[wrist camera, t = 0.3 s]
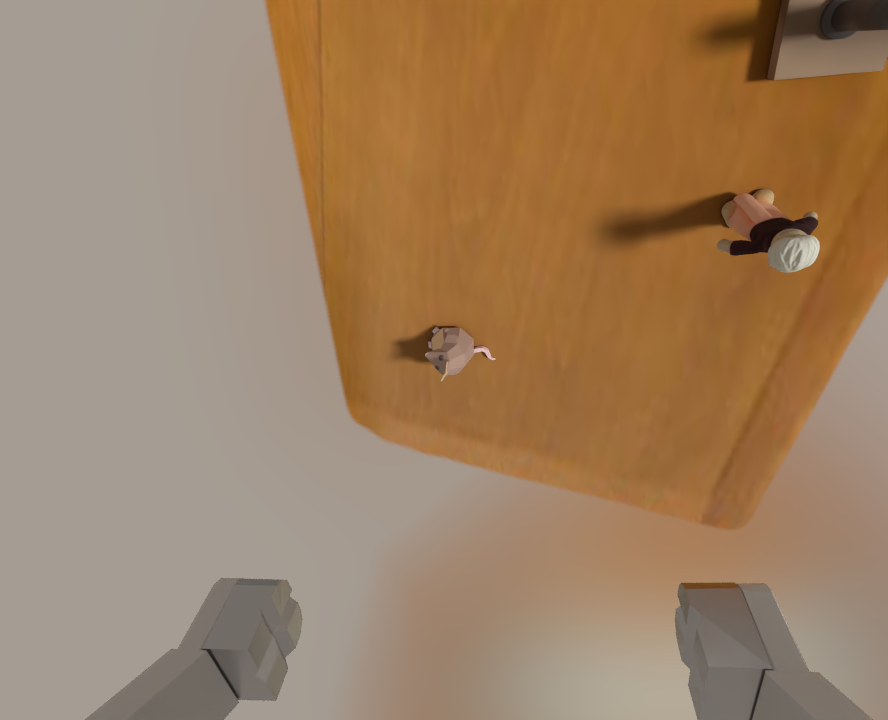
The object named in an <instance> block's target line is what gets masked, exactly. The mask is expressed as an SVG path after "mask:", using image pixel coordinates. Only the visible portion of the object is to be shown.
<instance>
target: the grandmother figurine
mask: <svg viewBox="0 0 888 720" xmlns="http://www.w3.org/2000/svg"><path fill="white" fill-rule="evenodd" d="M773 200H774V194H773V192H772V191H771V190H769V189H762V190H758V191H757V192H755V193H754V194H753V195H752V196H751V195H750V194H746V193H743V194H739V195H737V196H736V197H735V198H734V200H732V201H729V202H727V203H726V204H725V205H724V206H723V208H722V211H721V213H722V216H723V218H724V220H725V222H726V224H727V226H728V227H729V228H734V230H735V231H736V232H738V233H739V234H741V235H742V236H744V237H746V238H747V239H748V240H750V241H751V242H750V241H743V240H739V241H729V240H726V239H722V240H720V241H719V242H718V244H717V247H718V249H719V250H721V251H726V252H728V253H730V254H731V255H744V254H754V253H759V252H766V253H768V254H767V257H768V260H769V264H768V265H770V266H771V267H774V268H775V269H776V270H778V271H780V272H785V273H787V272H795V271H798V270H801V269H803V268H805V267H808V266H810V265H811V264H813V262H814V261H815V260H816V258H817V256H818V253H819V248H820V247H819V241H818V240H817V238H815V237H814V236H811V235H810V234H811V233H812V232H813V230H814V229H815V228H816V227H817V225H818V220H817V218H818V217H817V214H816V213H815V212H808V213H806V214H805V215H804V216H803V218H802V219H799V220H795V221H791V220H790V219H789V218H788V217H787V216H785V215H784V214H783V213H781V212H780V211H779V210H778V209H777V208H776V207H775V206H773V205H772V203H773Z"/></svg>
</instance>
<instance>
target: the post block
mask: <svg viewBox="0 0 888 720" xmlns="http://www.w3.org/2000/svg"><path fill="white" fill-rule="evenodd" d="M887 56H888V0H782V1H781V6H780V11H779V17H778V22H777V27H776V33H775V38H774V43H773V49H772V54H771V59H770V64H769V70H768V75H767V79H769V80H782V79H793V78H804V77H815V76H826V75H837V74H848V73H859V72H870V71H881V70H884V67H885V63H886V59H887Z"/></svg>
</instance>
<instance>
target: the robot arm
mask: <svg viewBox="0 0 888 720" xmlns="http://www.w3.org/2000/svg"><path fill="white" fill-rule="evenodd" d="M291 591H292V589H291V587H290V585H289V583H288V581H287V580H272V579H270V580H269V579H243V578H221V579H220V580H218V582H216V583H215V584H214V585H213V587H212V589H211V591H210V593H209V594H208V596H207V598H206V599H205V601H204V603H203V605H202V606H201V608H200V610H199V612H198V614H197V615H196V617H195V619H194V621H193V622H192V624H191V626H190V628H189V630H188V631H187V633H186V635H185V637H184V639H183V640H182V642H181V644H180V645H179V647H178V649H171V650H170V651H168V652H167V653H166V654H165V655H163V656H162V657H161V658H160V659H158V660H157V661H156V662H155V663H154V664H152V665H151V666H150V667H149V668H148V669H146V670H145V671H144V672H143V673H142V674H140V675H139V676H138V677H136V678H135V679H134V680H133V681H132V682H130V683H129V684H128V685H127V686H126V687H124V688H123V689H122V690H121V691H120V692H118V693H117V694H116V695H115V696H113V697H112V698H111V699H110V700H108V701H107V702H106V703H105V704H104V705H102V706H101V707H100V708H99V709H97V710H96V711H95V712H94V713H93V714H91V715H90V716H89V717H88V718H86V719H85V720H224V719H225V718H226V717H227V715H228V714H229V713H230V712H231V711H232V710H233V709H234V708H235V706H236V705H237V704H238V703H239V701H238V700H271V701H276V699H277V697H278V694H279V692H280V689H281V686H282V683H283V681H284V678H285V675H286V673H287V670H288V666H287V663H286V659H285V657H286V656H287V655H289V654H290V653H291V652H292V651H293V650H294V649H295V648H296V645H297V642H298V640H299V637H300V633H301V625H302V614H301V609H300V606H299V604H298V602H296V601H295V600H294V599H292V598H291V597H289V596H290V593H291ZM678 598H679V602H680V605H681V606H680V607H678V608H677V609H676V615H675V626H676V636H677V642H678V647H679V651H680V655H681V659H682V661H683V662H684V663H685V664H686V665H687V667H688V668H690V676H689V684H688V686H689V689H690V693H691V697H692V701H693V704H694V708H695V711H696V715H697V719H698V720H873V719H871V718H870V717H869V716H868V715H867V714H866V713H864V712H863V711H862V710H861V709H860V708H859V707H858V706H857V705H855V704H854V703H853V702H852V701H851V700H850V699H849V698H847V697H846V696H845V695H844V694H843V693H841V692H840V691H839V690H838V689H837V688H836V687H835V686H834V685H833V684H831V683H830V682H829V681H828V680H827V679H825V677H823V676H822V675H821V674H820V673H817V672H809V670H808V668H807V666H806V663H805V661H804V659H803V657H802V655H801V653H800V650H799V648H798V646H797V644H796V642H795V640H794V637H793V635H792V633H791V631H790V629H789V627H788V625H787V623H786V620H785V618H784V616H783V614H782V612H781V610H780V607H779V605H778V603H777V601H776V599H775V597H774V595H773V592H772V590H771V589H770V588H769V587H768V586H767V585H766V584H763V583H760V584H759V583H754V584H735V583H681V584H680V585H679V588H678Z"/></svg>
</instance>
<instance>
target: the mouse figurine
mask: <svg viewBox="0 0 888 720" xmlns="http://www.w3.org/2000/svg"><path fill="white" fill-rule="evenodd" d="M432 332H433V333H434V335H433V337H432V339H431V341H430V342H428V345H429V348H431V349H432V351H430V352H427V353H426V355H425V356H426V358H427V359H428V360H429V361H430V362H431V363H432V364H433V365H434V367H435V368H436V369H437V370H438V371H439V372H440V373H441V374H443V376H442V378H441V379H440V381H442V380H443V379H444V378H445V376H446V375H456V374H458V373H459V372H460V371H461V370H462V369H463V368H464V366H465V365H466V364H467V363H468V362H469V360H470V359H471V357H472V356H473V355H474V353H476V352H481V351H482V352H485V354H486V355H487V357H488V358H489V359H491V360H495V358H492V357H491V355H490V352H489V350H488V348H486V347H484V346H477V347H474V343H473V338H472V337H471V336H470V335H468V334H467V333H466V332H465V331H464V330H462V329H461V328H441V329H439V328H438V327H436V328H434V329H433V330H432Z"/></svg>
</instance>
